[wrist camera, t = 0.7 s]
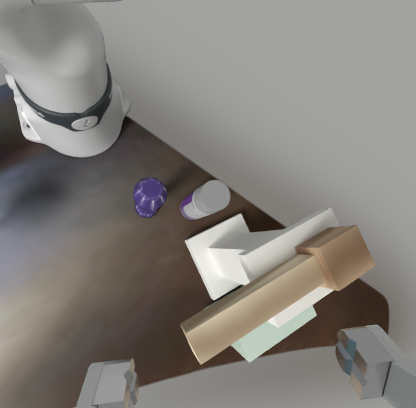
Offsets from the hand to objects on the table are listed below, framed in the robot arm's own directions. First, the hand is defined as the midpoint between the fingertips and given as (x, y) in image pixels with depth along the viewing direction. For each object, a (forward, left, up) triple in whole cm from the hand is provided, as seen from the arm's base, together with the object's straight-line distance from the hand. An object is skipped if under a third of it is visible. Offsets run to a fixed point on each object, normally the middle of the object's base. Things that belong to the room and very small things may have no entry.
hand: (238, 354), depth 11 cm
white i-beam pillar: (+4, +14, -41) cm, 44 cm away
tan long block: (+4, +9, -15) cm, 19 cm away
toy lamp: (-11, +4, -42) cm, 43 cm away
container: (-7, +12, -42) cm, 44 cm away
